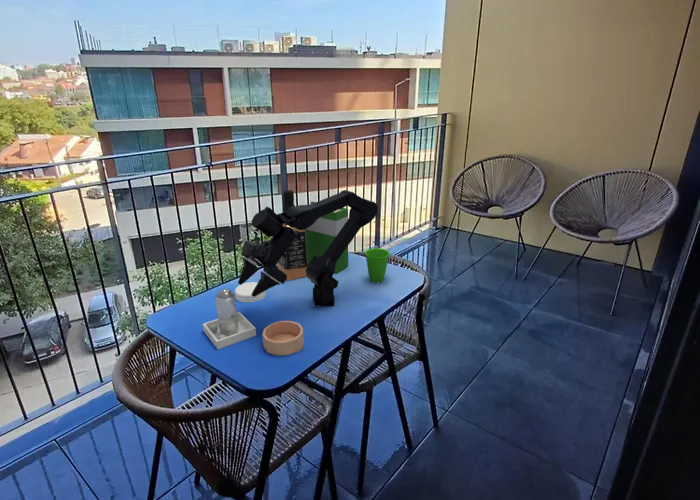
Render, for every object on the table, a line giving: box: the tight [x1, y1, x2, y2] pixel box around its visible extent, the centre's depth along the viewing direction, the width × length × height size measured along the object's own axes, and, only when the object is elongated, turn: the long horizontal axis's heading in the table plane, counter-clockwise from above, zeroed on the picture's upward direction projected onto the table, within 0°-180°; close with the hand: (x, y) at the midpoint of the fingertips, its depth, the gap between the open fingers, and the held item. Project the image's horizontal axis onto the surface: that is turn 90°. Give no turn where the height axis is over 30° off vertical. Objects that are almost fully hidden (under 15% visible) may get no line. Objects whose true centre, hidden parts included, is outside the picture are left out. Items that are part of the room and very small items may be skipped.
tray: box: [202, 311, 257, 350], centre depth 118 cm, size 11×11×3 cm
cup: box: [364, 247, 391, 284], centre depth 149 cm, size 9×9×11 cm
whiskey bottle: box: [276, 189, 308, 281], centre depth 151 cm, size 10×10×32 cm
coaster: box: [234, 281, 266, 303], centre depth 139 cm, size 10×10×4 cm
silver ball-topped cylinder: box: [214, 288, 239, 337], centre depth 115 cm, size 5×5×14 cm
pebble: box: [209, 324, 218, 333], centre depth 118 cm, size 2×2×2 cm
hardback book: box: [305, 201, 349, 275], centre depth 160 cm, size 18×7×24 cm, turn 54°
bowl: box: [262, 320, 305, 356], centre depth 113 cm, size 11×11×4 cm
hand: (245, 289), depth 117 cm, fingers open, 9 cm apart
